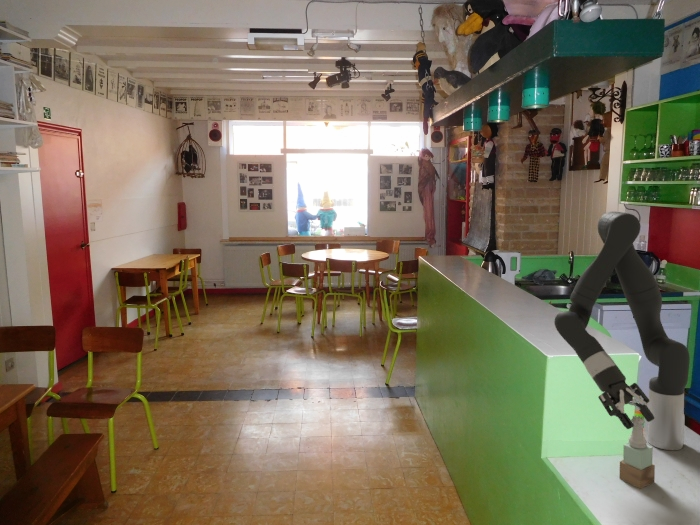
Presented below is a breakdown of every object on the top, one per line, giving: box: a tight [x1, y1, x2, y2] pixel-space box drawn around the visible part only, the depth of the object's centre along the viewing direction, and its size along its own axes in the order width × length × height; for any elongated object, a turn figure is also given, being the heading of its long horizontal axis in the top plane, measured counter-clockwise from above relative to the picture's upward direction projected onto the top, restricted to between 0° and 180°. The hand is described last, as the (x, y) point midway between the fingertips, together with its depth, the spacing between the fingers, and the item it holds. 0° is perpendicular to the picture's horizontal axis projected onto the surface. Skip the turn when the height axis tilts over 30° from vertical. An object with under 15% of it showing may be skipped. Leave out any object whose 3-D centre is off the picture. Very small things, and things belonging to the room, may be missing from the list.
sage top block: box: [622, 442, 654, 470], centre depth 141 cm, size 5×5×5 cm
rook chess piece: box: [627, 415, 648, 449], centre depth 141 cm, size 4×4×8 cm
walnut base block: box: [619, 459, 656, 489], centre depth 142 cm, size 6×6×5 cm
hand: (641, 424), depth 139 cm, fingers open, 8 cm apart
